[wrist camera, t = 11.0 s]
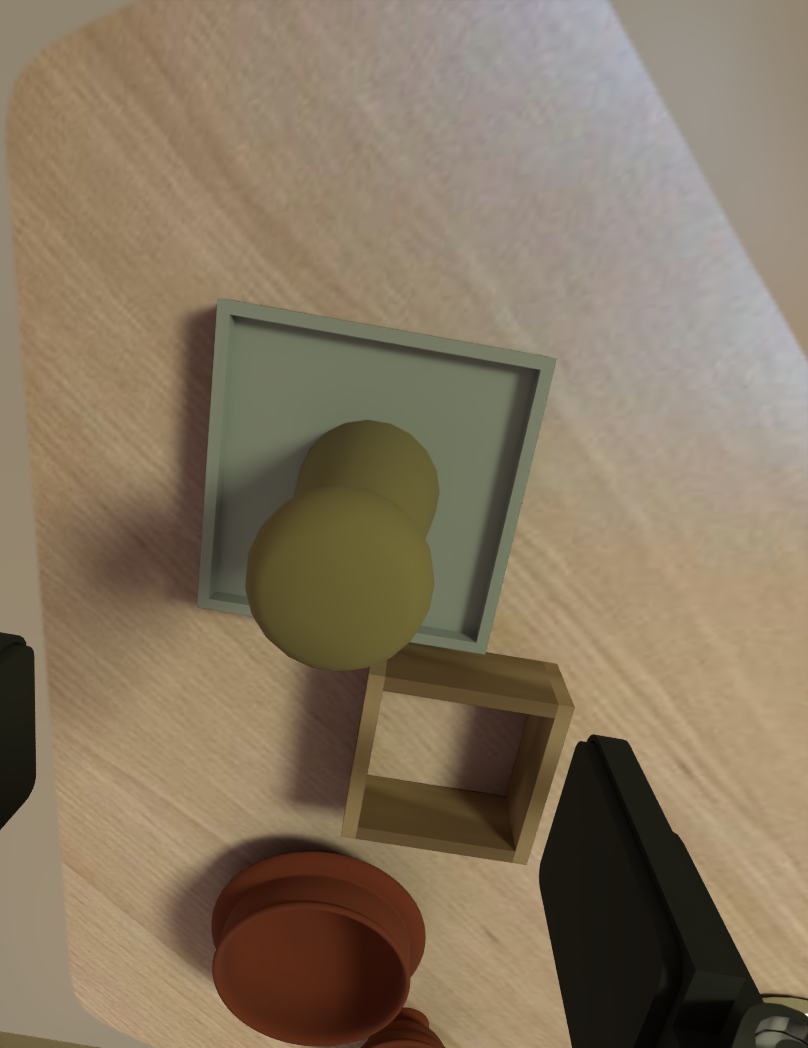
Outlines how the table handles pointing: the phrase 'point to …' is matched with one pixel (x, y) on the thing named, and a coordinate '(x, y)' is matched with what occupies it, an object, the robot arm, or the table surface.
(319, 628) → the olive pawn
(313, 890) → the pottery
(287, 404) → the tray
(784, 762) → the table surface
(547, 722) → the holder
